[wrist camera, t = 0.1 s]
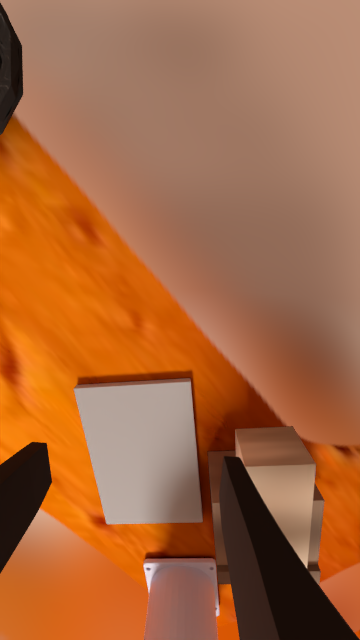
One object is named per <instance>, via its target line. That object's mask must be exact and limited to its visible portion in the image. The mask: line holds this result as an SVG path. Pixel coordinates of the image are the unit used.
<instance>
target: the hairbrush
mask: <svg viewBox="0 0 360 640" xmlns="http://www.w3.org/2000/svg"><path fill="white" fill-rule="evenodd" d="M22 95H23V71H22V45H21V43H20V41H19V39H18V37H17V35H16V33H15V31H14V29H13V27H12V25H11V23H10V21H9V18H8V15H7V14H6V12H5V10H4V8H3V7H2V5H1V3H0V135H1V134H2V133H3V131H4V129H5V127H6V125H7V124H8V122H9V120H10V118H11V116H12V114H13V112H14V110H15V109H16V107H17V105H18V103H19V101H20V99H21V97H22Z"/></svg>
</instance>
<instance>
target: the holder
mask: <svg viewBox="0 0 360 640" xmlns="http://www.w3.org/2000/svg"><path fill="white" fill-rule="evenodd" d="M224 456H231V457H236V450H234V451H208V464H209V478H210V492H211V505H212V519H213V530H214V541H215V553H216V564H217V575H218V584H231V581H230V575H229V569H228V563H227V557H226V551H225V545H224V539H223V533H222V526H221V515H220V502H219V490H220V482H221V474H222V466H223V458H224ZM323 509H324V499H323V497H322V495H321V494H320V492H319V490H318V488H317V486H316V485H315V483H314V494H313V506H312V518H311V530H310V541H309V553H308V565H307V569H308V571H309V572H310V574H311V575H312V577H313V578H314V579H315V581H316V582H317V584H319V581H320V572H321V571H320V569H319V566H318V557H319V548H320V538H321V528H322V518H323Z"/></svg>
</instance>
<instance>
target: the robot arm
mask: <svg viewBox="0 0 360 640" xmlns="http://www.w3.org/2000/svg"><path fill="white" fill-rule="evenodd" d="M51 483H52V479H51V471H50V464H49V457H48V450H47V443H38V442H31V443H30V444H29V445H27V446H26V447H24V448H23V449H21V450H20V451H19V452H17V453H16V454H15V455H13V456H12V457H10V458H9V459H8V460H6V461H5V462H4V463H2V464H1V465H0V573H1V571H2V570H3V568H4V566H5V565H6V563H7V562H8V560H9V558H10V557H11V555H12V553H13V552H14V550H15V549H16V547H17V545H18V543H19V542H20V540H21V539H22V537H23V535H24V534H25V532H26V530H27V529H28V527H29V525H30V524H31V522H32V520H33V519H34V517H35V515H36V513H37V512H38V510H39V508H40V506H41V504H42V502H43V500H44V498H45V496H46V494H47V491H48V489H49V487H50V485H51ZM219 502H220V515H221V526H222V533H223V539H224V545H225V551H226V557H227V563H228V569H229V575H230V581H231V587H232V593H233V599H234V605H235V611H236V617H237V624H238V630H239V637H240V640H360V639H359V638H358V637H357V636H356V634H355V633H354V632H353V631H352V629H351V628H350V627H349V625H348V624H347V623H346V622H345V620H344V619H343V617H342V616H341V615H340V613H339V612H338V611H337V609H336V608H335V607H334V605H333V604H332V603H331V602H330V600H329V599H328V597H327V596H326V595H325V593H324V592H323V590H322V589H321V588H320V586H319V585H318V584H317V582H316V581H315V579H314V578H313V577H312V575H311V574H310V572H309V571H308V569H307V568H306V567H305V565H304V564H303V562H302V561H301V559H300V558H299V556H298V555H297V553H296V552H295V550H294V549H293V547H292V546H291V544H290V543H289V541H288V540H287V538H286V537H285V535H284V533H283V532H282V530H281V529H280V527H279V526H278V524H277V522H276V521H275V519H274V517H273V516H272V514H271V512H270V511H269V509H268V507H267V506H266V504H265V502H264V501H263V499H262V497H261V496H260V494H259V492H258V490H257V488H256V487H255V485H254V483H253V481H252V479H251V477H250V476H249V474H248V472H247V470H246V468H245V466H244V464H243V462H242V460H241V459H240V458H239V457H231V456H224V458H223V466H222V474H221V482H220V490H219ZM143 566H144V571H145V576H146V581H147V586H148V591H149V602H148V610H147V618H146V626H145V635H144V640H218V635H217V621H216V616H218V615H219V601H218V587H217V573H216V561H215V560H214V559H213V558H162V559H145V560H144V565H143Z"/></svg>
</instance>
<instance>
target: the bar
mask: <svg viewBox="0 0 360 640" xmlns="http://www.w3.org/2000/svg"><path fill="white" fill-rule="evenodd" d="M235 444H236V457H239V458H240V459H241V460H242V462H243V464H244V466H245V468H246V470H247V472H248V474H249V476H250V477H251V479H252V481H253V483H254V485H255V487H256V488H257V490H258V492H259V494H260V496H261V497H262V499H263V501H264V502H265V504H266V506H267V507H268V509H269V511H270V512H271V514H272V516H273V517H274V519H275V521H276V522H277V524H278V526H279V527H280V529H281V530H282V532H283V533H284V535H285V537H286V538H287V540H288V541H289V543H290V544H291V546H292V547H293V549H294V550H295V552H296V553H297V555H298V556H299V558H300V559H301V561H302V562H303V564H304V565H305V567H306V568H307V565H308V553H309V541H310V530H311V518H312V506H313V494H314V482H315V471H316V463H315V462H314V460H313V459H312V457H311V455H310V454H309V452H308V450H307V449H306V447H305V446H304V444H303V442H302V441H301V439H300V438H299V436H298V434H297V433H296V431H295V429H294V428H293V426H290V427H268V428H246V429H235Z"/></svg>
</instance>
